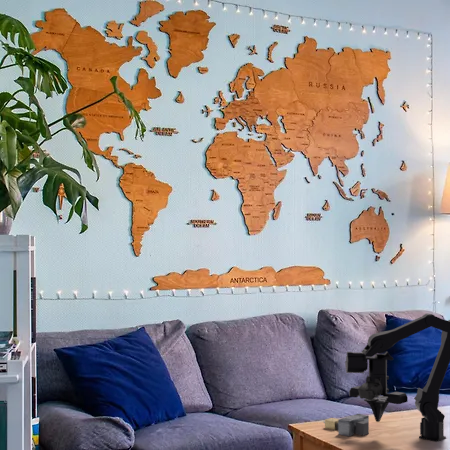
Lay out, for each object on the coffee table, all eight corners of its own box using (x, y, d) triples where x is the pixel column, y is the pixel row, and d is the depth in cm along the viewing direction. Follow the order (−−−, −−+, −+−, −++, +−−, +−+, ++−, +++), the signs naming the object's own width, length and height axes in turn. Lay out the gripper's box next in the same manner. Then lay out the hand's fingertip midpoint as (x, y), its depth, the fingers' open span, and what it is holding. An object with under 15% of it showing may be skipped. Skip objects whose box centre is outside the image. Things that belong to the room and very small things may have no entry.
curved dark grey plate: (368, 429, 245) (368, 415, 245) (348, 436, 237) (348, 421, 237) (358, 427, 248) (358, 413, 248) (338, 434, 239) (338, 419, 240)
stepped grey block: (368, 433, 240) (368, 422, 240) (363, 435, 238) (363, 423, 238) (340, 428, 248) (340, 417, 248) (335, 429, 245) (335, 418, 246)
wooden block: (341, 428, 248) (341, 419, 248) (334, 430, 245) (334, 421, 245) (329, 426, 251) (329, 417, 252) (322, 428, 248) (322, 419, 249)
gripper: (339, 372, 237) (339, 421, 237) (390, 379, 224) (390, 430, 224) (358, 368, 245) (358, 415, 245) (408, 375, 232) (408, 424, 232)
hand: (377, 421), depth 236 cm, fingers closed
